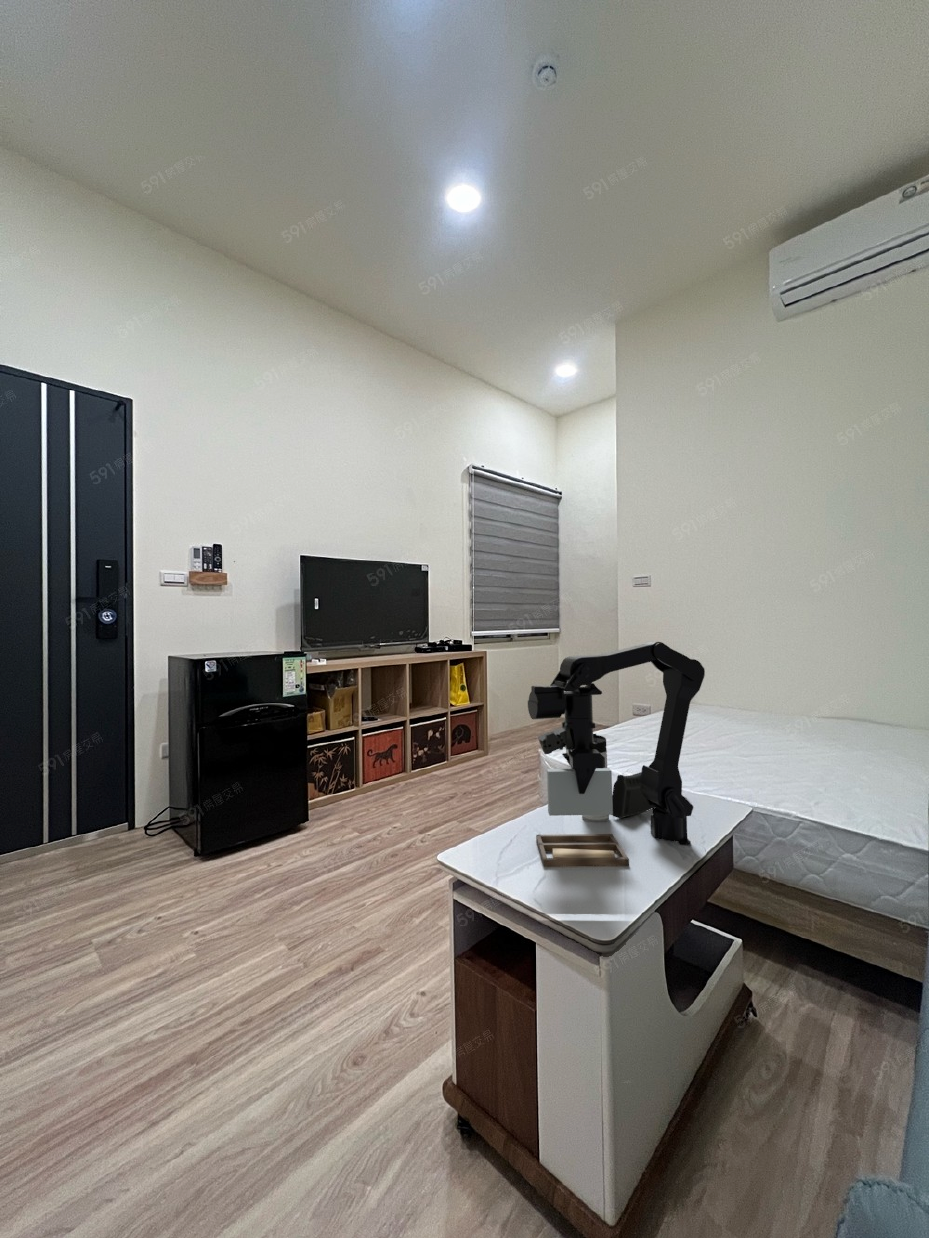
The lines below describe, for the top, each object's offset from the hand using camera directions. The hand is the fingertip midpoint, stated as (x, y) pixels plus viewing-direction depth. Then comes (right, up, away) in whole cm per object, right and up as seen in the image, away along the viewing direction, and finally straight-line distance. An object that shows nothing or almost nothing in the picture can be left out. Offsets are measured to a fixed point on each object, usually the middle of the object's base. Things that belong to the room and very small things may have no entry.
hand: (580, 791), depth 106 cm
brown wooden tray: (-1, -12, -3) cm, 12 cm away
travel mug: (+7, -12, +16) cm, 22 cm away
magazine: (+23, -12, +25) cm, 36 cm away
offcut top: (-1, -11, -5) cm, 12 cm away
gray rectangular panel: (0, -4, 0) cm, 4 cm away
